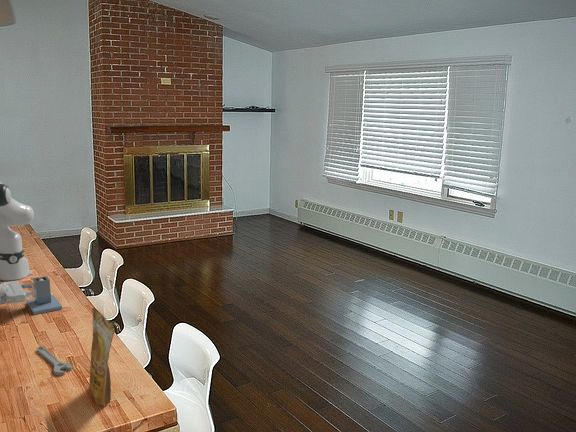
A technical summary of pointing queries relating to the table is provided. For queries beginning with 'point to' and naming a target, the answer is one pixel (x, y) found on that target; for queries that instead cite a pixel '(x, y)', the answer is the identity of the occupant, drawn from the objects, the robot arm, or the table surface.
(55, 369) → the adjustable wrench
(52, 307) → the shaft base
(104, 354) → the pancake mix bag
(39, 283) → the steel collar
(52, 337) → the table surface
